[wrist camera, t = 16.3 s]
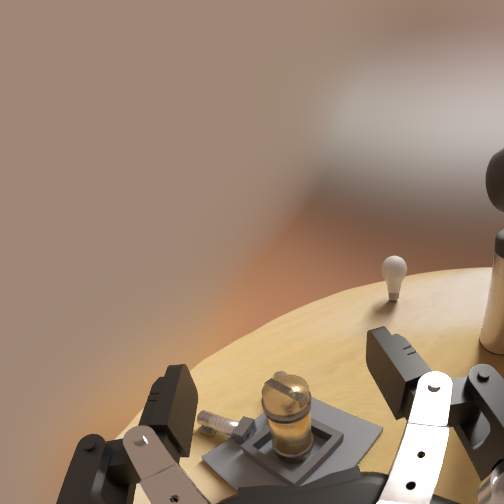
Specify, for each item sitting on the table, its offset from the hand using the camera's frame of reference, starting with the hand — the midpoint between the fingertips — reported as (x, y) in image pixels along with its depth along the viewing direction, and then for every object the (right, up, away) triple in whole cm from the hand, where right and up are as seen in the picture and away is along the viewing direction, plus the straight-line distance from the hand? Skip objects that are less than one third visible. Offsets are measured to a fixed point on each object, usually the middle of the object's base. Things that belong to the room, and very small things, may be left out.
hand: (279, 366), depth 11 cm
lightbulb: (+32, -7, +48) cm, 59 cm away
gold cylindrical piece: (+4, -20, +17) cm, 26 cm away
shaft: (-4, -21, +22) cm, 31 cm away
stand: (+4, -21, +17) cm, 27 cm away
